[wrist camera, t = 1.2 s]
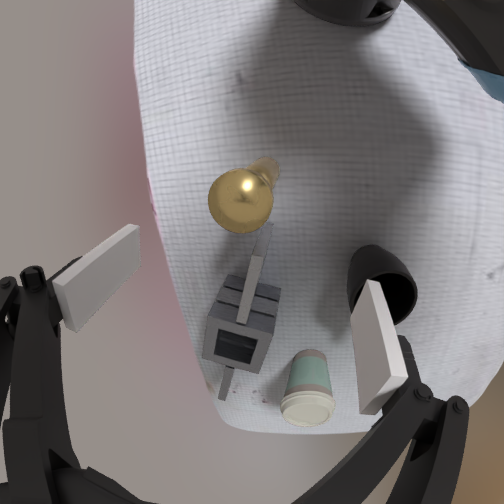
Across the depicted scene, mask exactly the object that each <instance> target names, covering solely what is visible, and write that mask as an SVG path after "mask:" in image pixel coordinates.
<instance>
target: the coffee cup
mask: <svg viewBox="0 0 504 504" xmlns="http://www.w3.org/2000/svg"><path fill="white" fill-rule="evenodd" d="M335 405H336V403H335V400H334V399H333V396H332V390H331V384H330V378H329V372H328V366H327V361H326V357H325V355H324V354H323V353H321V352H320V351H317V350H304V351H301V352H299V353H298V354H297V355H296V356H295V357H294V361H293V365H292V368H291V372H290V376H289V380H288V384H287V388H286V391H285V395H284V398H283V399H282V401H281V403H280V409H281V412H282V415H283V418H284V420H285V421H287V422H288V423H290V424H292V425H295V426H300V427H313V426H318V425H321V424H324V423H326V422H327V421H329V420H330V418H331V417H332V414H333V412H334V410H335Z"/></svg>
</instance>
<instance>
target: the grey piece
mask: <svg viewBox="0 0 504 504" xmlns="http://www.w3.org/2000/svg"><path fill="white" fill-rule="evenodd" d="M273 225H274V224H272V223H269V222H265V223H264V225H263V228H262V230H261V233H260V235H259V238H258V240H257V243H256V245H255V248H254V250H253V253H252V256H251V260H250V264H249V269H248V273H247V277H246V281H245V286H244V290H243V293H242V292H238V291H235V290H231V289H228V288H224V287H222V288H221V290H220V292H219V294H218V296H217V298H216V302H218V303H222V304H225V305H229V306H232V307H236V308H239V311H238V315H237V320H236V322H240V323H243V324H246V323H247V319H248V316H249V313H250V312H254V313H257V314H261V315H265V316H269V317H272V318H276V316H277V310H278V304H279V302H275V301H271V300H268V299H264V298H260V297H256V296H255V293H256V289H257V286H258V283H259V279H260V275H261V272H262V268H263V264H264V260H265V256H266V253H267V249H268V245H269V241H270V237H271V233H272V229H273ZM220 340H223V341H226V342H230V343H233V344H237V345H240V346H244V347H247V348H251V349H254V347H255V344H256V341H257V339H254V338H250V337H247V336H243V335H240V334H236V333H233V332H229V331H226V330H222V329H221V334H220Z"/></svg>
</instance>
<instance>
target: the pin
mask: <svg viewBox="0 0 504 504" xmlns="http://www.w3.org/2000/svg"><path fill="white" fill-rule="evenodd" d="M279 174H280V168H279V165H278V164H277V162H276V161H275V160H274V159H272V158H269V157H262V158H259V159H257V160H256V161H255V162H253V163H252V164H251V165H249V166H248V167H247V168H237V169H232V170H230V171H228V172H226V173H224V174H223V175H221V176H220V177H219V178H217V179H216V180H215V182H214V183H213V184H212V186H211V188H210V191H209V194H208V206H209V210H210V213H211V215H212V216H213V218H214V219H215V221H216V222H217V223H218V224H219V225H220V226H222V227H223V228H225V229H226V230H228V231H231V232H235V233H249V232H252V231H255V230H257V229H258V228H260V227H261V226H262V225H263V224H264V223H265V222H266V221H267V219H268V218H269V215H270V213H271V210H272V207H273V202H274V197H273V191H272V189H273V187H274V185H275V183H276V181H277V179H278V177H279Z"/></svg>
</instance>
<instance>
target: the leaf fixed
mask: <svg viewBox="0 0 504 504" xmlns="http://www.w3.org/2000/svg"><path fill="white" fill-rule="evenodd" d="M245 281H246V279H244V278H240V277H236V276H233V275H229V274H228V276H227V278H226V280H225V282H224V284H223V287H224V288H228V289H231V290H235V291H238V292H242V293H243V290H244V286H245ZM280 292H281V288H277V287H273V286H269V285H266V284H262V283H258V286H257V289H256V293H255V296H256V297H260V298H264V299H268V300H271V301H275V302H279V298H280ZM238 311H239V308H236V307H232V306H229V305H225V304H222V303H218V302H214V304H213V306H212V308H211V311H210V313H209V315H208V319H207V326H206V333H205V340H204V347H203V355H202V358H204V359H207V360H211V361H214V362H217V363H221V364H224V365H226V367H225V371H224V375H223V379H222V383H221V388H220V392H219V396H218V399H220V400H224V401H225V400H226V396H227V393H228V390H229V387H230V383H231V380H232V377H233V373H234V370H235V368H238V369H242V370H245V371H249V372H253V373H257V374H259V371H260V369H261V366H262V363H263V361H264V358H265V356H266V353H267V350H268V347H269V345H270V342H271V339H272V337H273V333H274V328H275V322H276V318H272V317H269V316H265V315H261V314H257V313H254V312H250V313H249V316H248V319H247V323H246V324H243V323H240V322H236V320H237V315H238ZM221 329H222V330H226V331H229V332H233V333H236V334H240V335H243V336H247V337H250V338H254V339H257V341H256V344H255V347H254V349H251V348H247V347H244V346H240V345H237V344H233V343H230V342H226V341H223V340H220V334H221Z"/></svg>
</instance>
